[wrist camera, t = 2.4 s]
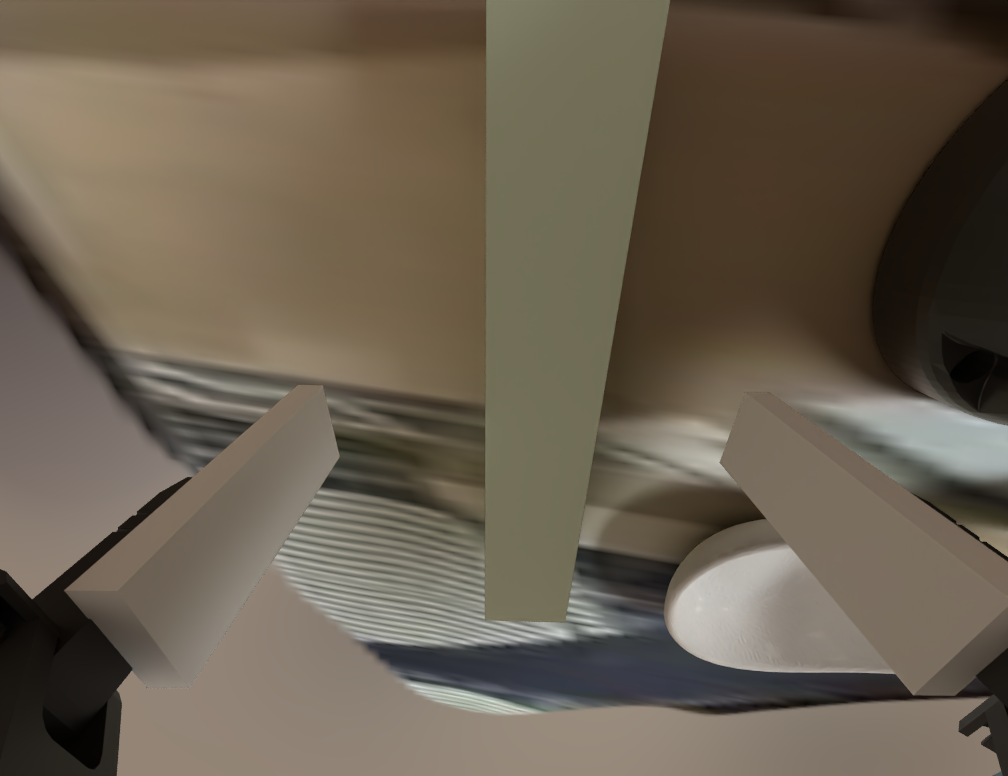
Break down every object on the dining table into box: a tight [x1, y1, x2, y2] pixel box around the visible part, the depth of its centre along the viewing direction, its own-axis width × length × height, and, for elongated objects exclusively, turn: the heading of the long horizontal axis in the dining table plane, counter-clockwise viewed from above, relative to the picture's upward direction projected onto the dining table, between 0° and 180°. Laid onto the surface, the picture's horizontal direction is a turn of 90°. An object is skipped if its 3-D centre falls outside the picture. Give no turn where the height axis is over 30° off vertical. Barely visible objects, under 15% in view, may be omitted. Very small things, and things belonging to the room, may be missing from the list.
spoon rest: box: [664, 519, 895, 674], centre depth 19 cm, size 24×12×7 cm, turn 107°
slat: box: [485, 0, 670, 622], centre depth 15 cm, size 4×24×5 cm, turn 178°
